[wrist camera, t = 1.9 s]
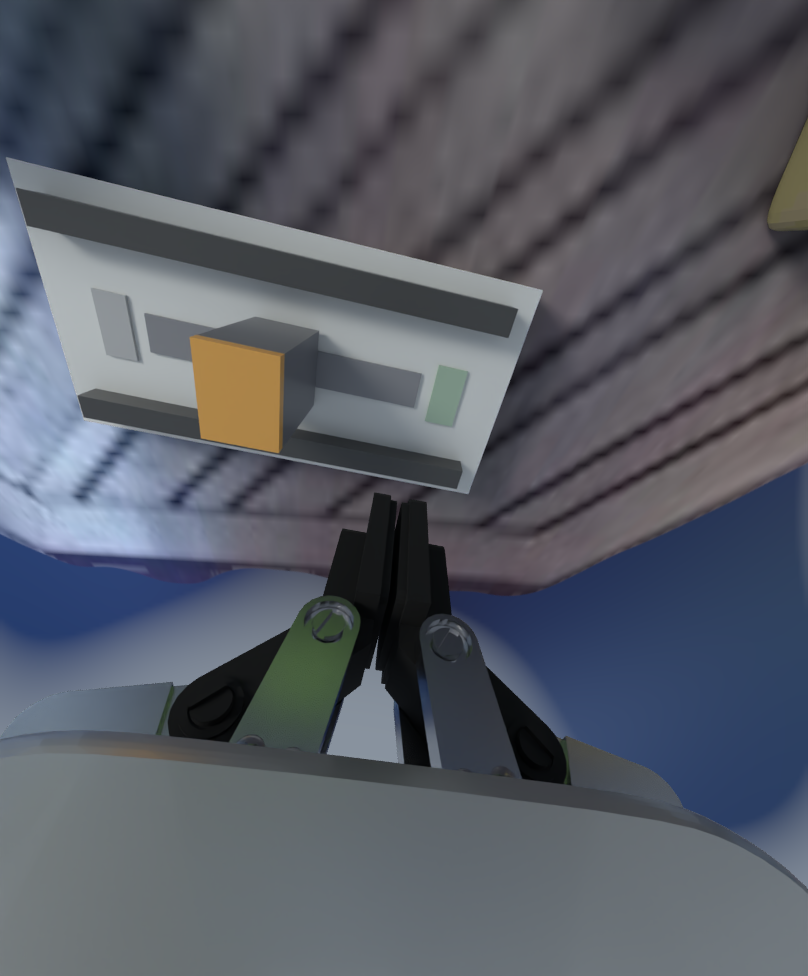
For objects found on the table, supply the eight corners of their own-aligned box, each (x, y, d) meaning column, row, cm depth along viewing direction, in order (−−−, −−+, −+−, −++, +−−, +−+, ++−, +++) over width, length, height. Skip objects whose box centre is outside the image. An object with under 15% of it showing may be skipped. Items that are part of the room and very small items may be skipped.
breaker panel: (54, 170, 21) (-28, 148, 17) (529, 287, 24) (551, 291, 20) (113, 407, 29) (66, 428, 25) (463, 475, 32) (470, 505, 28)
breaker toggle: (255, 316, 22) (189, 336, 16) (319, 330, 22) (280, 356, 16) (256, 393, 25) (200, 438, 18) (313, 405, 25) (278, 453, 19)
